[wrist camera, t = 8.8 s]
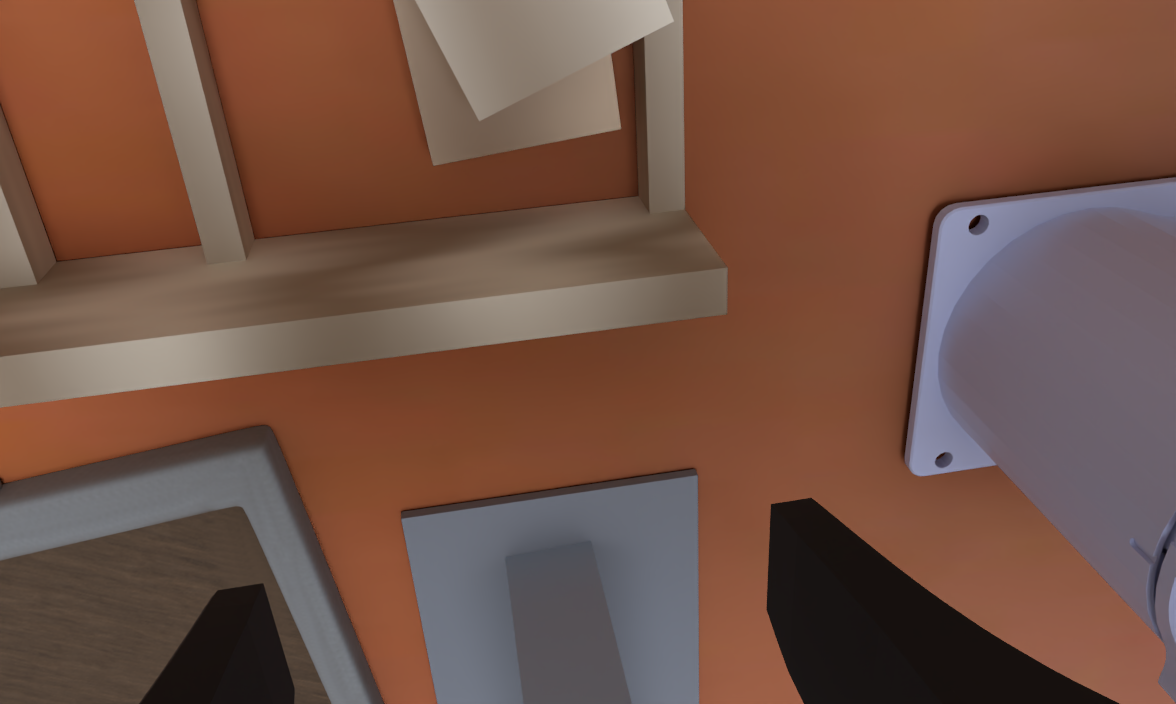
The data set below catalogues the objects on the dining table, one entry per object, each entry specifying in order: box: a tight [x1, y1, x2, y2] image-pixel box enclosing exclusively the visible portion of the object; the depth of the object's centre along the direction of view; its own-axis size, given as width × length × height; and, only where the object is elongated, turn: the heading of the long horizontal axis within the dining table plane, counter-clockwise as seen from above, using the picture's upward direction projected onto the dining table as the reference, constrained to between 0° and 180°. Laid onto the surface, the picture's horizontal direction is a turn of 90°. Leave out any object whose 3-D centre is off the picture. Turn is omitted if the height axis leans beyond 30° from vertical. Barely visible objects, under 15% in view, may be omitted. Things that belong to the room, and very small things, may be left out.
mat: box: [401, 469, 699, 704], centre depth 28 cm, size 8×12×1 cm, turn 4°
